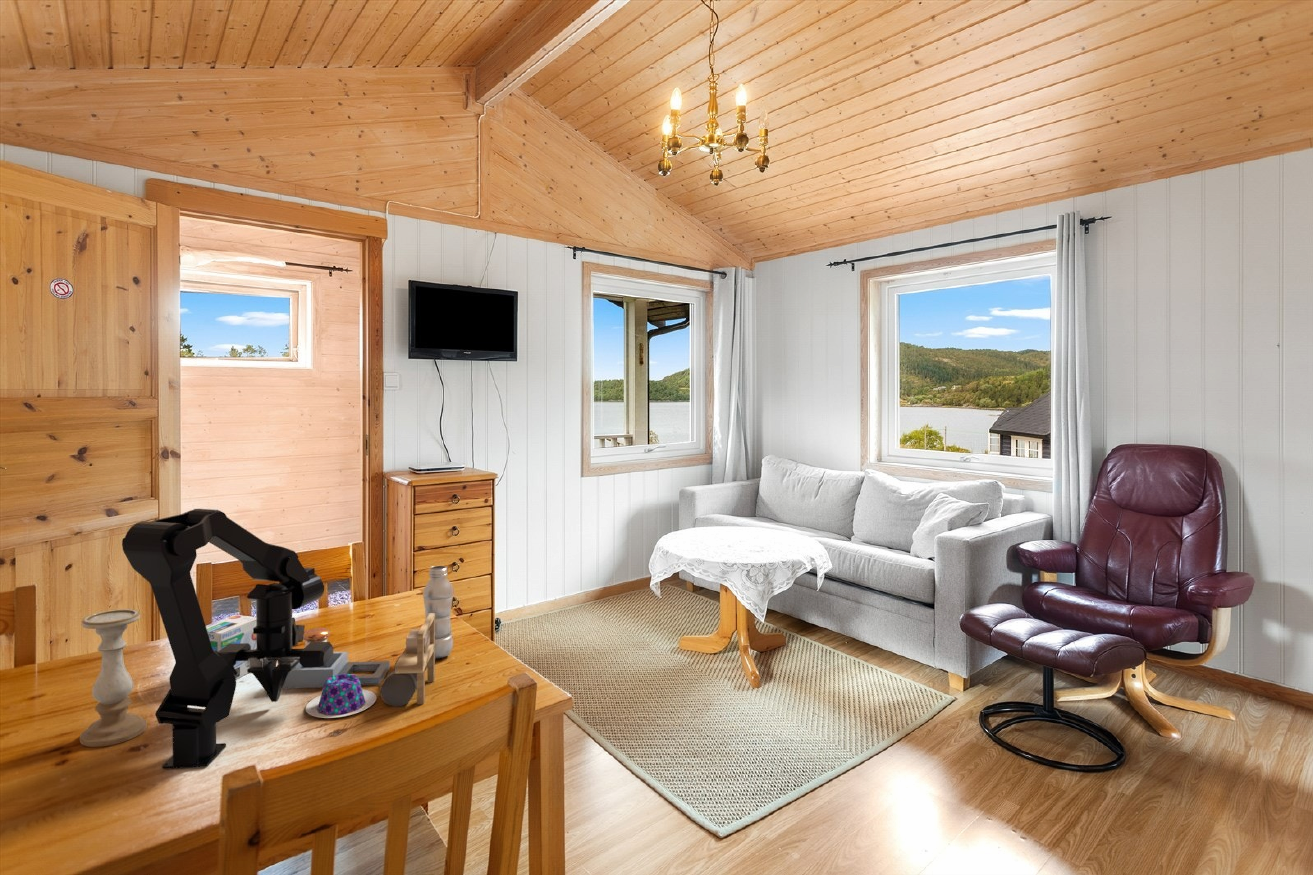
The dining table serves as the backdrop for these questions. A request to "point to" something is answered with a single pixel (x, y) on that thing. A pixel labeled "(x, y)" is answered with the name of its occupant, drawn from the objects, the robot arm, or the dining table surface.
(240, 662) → the light bulb box
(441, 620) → the plastic bottle
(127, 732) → the candle holder
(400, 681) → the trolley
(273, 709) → the dining table surface
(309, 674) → the tray
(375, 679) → the collar
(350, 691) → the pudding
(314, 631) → the grey brown-topped cylinder
